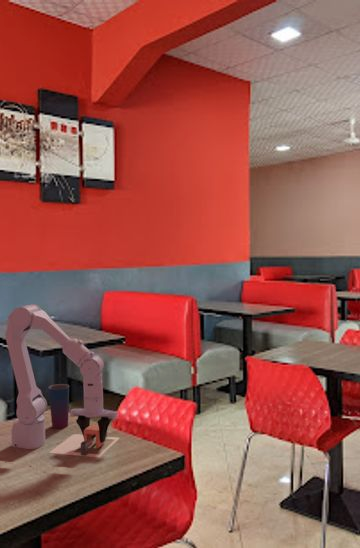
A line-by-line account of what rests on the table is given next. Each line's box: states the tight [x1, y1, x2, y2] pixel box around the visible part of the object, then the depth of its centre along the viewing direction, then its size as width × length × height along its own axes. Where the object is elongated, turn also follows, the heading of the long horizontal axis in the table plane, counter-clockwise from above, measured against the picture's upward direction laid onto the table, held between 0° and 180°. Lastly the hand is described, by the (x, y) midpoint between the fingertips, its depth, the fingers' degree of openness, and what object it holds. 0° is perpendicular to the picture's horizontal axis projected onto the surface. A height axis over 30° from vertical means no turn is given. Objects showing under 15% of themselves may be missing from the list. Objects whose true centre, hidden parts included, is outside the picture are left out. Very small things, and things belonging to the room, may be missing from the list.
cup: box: [48, 383, 70, 430], centre depth 178 cm, size 7×7×15 cm
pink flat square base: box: [48, 431, 121, 458], centre depth 161 cm, size 16×16×5 cm
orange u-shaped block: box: [84, 424, 106, 449], centre depth 160 cm, size 5×5×5 cm
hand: (94, 441), depth 160 cm, fingers closed on orange u-shaped block, 4 cm apart
